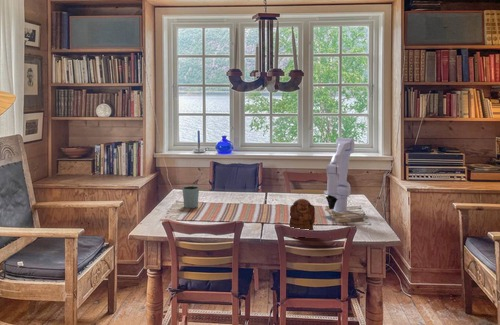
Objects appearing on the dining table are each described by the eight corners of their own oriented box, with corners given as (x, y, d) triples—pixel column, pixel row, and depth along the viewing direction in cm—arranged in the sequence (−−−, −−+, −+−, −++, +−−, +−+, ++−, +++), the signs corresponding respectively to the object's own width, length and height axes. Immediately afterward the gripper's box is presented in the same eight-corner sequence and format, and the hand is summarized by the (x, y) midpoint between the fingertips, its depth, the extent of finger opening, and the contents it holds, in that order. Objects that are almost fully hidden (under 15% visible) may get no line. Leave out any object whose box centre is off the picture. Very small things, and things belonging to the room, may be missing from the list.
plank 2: (331, 219, 250) (331, 216, 250) (343, 218, 253) (343, 215, 253) (338, 222, 244) (338, 219, 243) (351, 221, 247) (351, 218, 246)
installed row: (336, 215, 260) (337, 212, 260) (348, 214, 263) (348, 211, 263) (351, 221, 247) (351, 218, 247) (363, 220, 250) (363, 217, 249)
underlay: (321, 216, 257) (321, 216, 257) (348, 214, 264) (348, 213, 264) (336, 223, 243) (336, 223, 243) (364, 221, 249) (364, 220, 249)
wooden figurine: (292, 237, 217) (293, 201, 215) (288, 234, 223) (289, 198, 221) (315, 236, 220) (316, 200, 217) (311, 232, 226) (312, 197, 223)
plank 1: (324, 210, 257) (325, 207, 257) (335, 215, 260) (336, 212, 260) (331, 212, 250) (332, 210, 250) (342, 218, 253) (343, 215, 253)
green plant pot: (200, 205, 282) (200, 186, 281) (197, 208, 272) (197, 189, 271) (184, 204, 283) (184, 185, 282) (180, 208, 273) (180, 188, 272)
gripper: (319, 183, 257) (318, 206, 259) (333, 188, 244) (332, 212, 246) (330, 182, 260) (329, 206, 262) (344, 187, 247) (343, 211, 248)
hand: (331, 209), depth 254 cm, fingers closed, pressing on plank 1
